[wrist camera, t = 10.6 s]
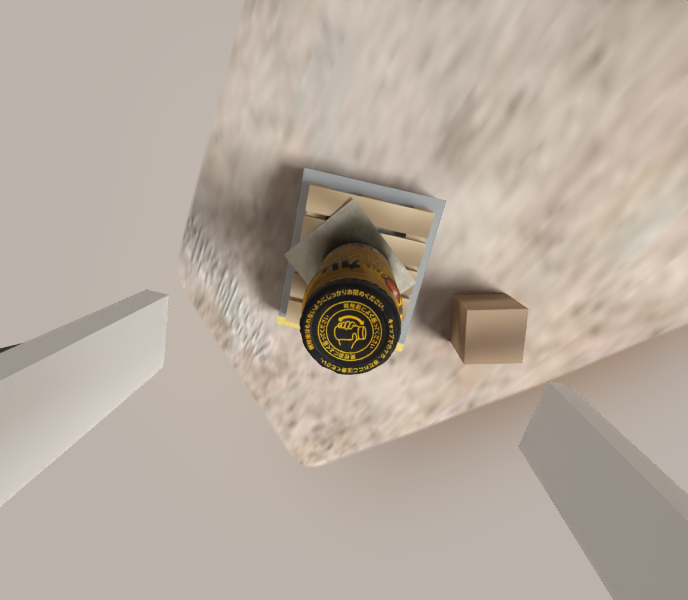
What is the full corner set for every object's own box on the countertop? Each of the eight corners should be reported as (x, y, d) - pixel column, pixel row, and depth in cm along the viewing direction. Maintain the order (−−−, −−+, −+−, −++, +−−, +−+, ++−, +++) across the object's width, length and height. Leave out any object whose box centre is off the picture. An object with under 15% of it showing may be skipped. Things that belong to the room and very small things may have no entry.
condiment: (346, 331, 30) (337, 413, 19) (283, 254, 29) (231, 293, 17) (416, 282, 29) (451, 339, 17) (354, 198, 27) (348, 199, 16)
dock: (309, 170, 32) (304, 167, 29) (438, 200, 32) (446, 200, 29) (283, 313, 36) (276, 323, 33) (398, 338, 36) (401, 351, 33)
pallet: (313, 182, 29) (310, 181, 27) (430, 210, 29) (435, 211, 27) (289, 316, 32) (284, 323, 31) (393, 339, 33) (395, 348, 31)
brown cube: (452, 294, 34) (467, 310, 29) (504, 293, 34) (528, 308, 29) (450, 341, 36) (463, 364, 31) (500, 340, 35) (522, 363, 31)
